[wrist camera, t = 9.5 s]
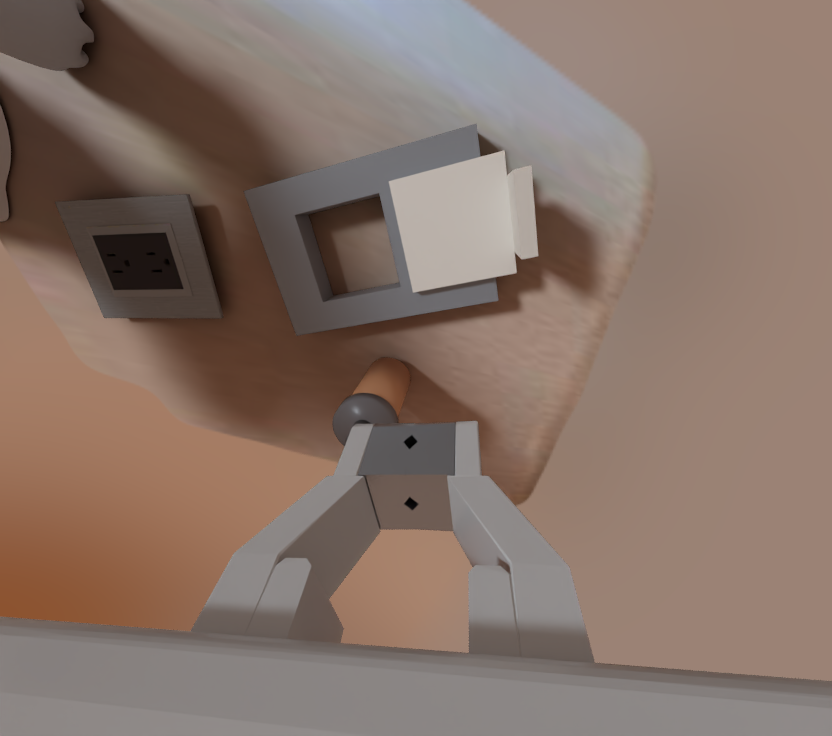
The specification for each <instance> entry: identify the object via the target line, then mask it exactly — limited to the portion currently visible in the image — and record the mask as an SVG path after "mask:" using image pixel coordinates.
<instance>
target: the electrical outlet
mask: <svg viewBox="0 0 832 736" xmlns="http://www.w3.org/2000/svg"><path fill="white" fill-rule="evenodd" d="M55 204H56V206H57V208H58V211H59V213H60V216H61V218H62V220H63V223H64V225H65V227H66V230H67V232H68V234H69V237H70V239H71V241H72V244H73V246H74V248H75V251H76V253H77V255H78V258H79V260H80V263H81V265H82V267H83V270H84V272H85V274H86V277H87V279H88V281H89V284H90V286H91V288H92V291H93V293H94V295H95V298H96V300H97V302H98V305H99V307H100V310H101V312H102V314H103V317H104V318H223V312H222V309H221V305H220V302H219V298H218V295H217V291H216V288H215V284H214V281H213V277H212V273H211V270H210V266H209V263H208V259H207V256H206V252H205V248H204V245H203V241H202V238H201V234H200V230H199V227H198V223H197V220H196V216H195V212H194V209H193V205H192V202H191V198H190V195H189V194H183V195H166V196H149V197H131V198H114V199H96V200H79V201H62V202H55Z"/></svg>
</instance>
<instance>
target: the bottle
mask: <svg viewBox="0 0 832 736" xmlns="http://www.w3.org/2000/svg"><path fill="white" fill-rule="evenodd" d="M83 11H84V5H83V3H82V1H81V0H0V52H1V53H4V54H6V55H9V56H11V57H14V58H16V59H19V60H22V61H25V62H27V63H30V64H33V65H36V66H39V67H42V68H46V69H50V70H55V71H63V70H66V69H68V68H80V67H84V66H85V65H86V64H87V63H88V62H89V59H88V56H87V55H86V53H85V52H84V51H82V46H83V45H84V44H85V43H91V42H94V33H93V31H92V30H91V29H90V28H89V27H88V26H87V25H86V24H85V23H84V22H83V20H82V19H81V18H80V15H79V13H82V12H83Z"/></svg>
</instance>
